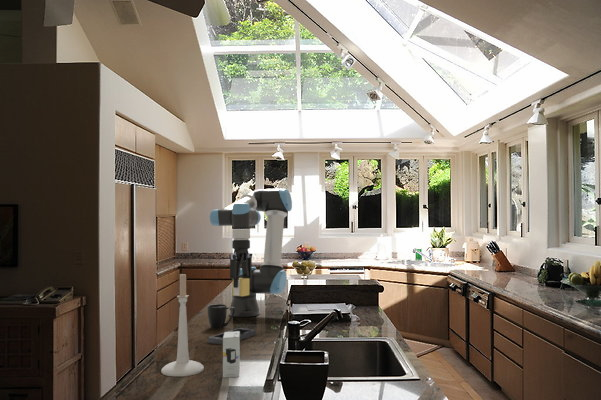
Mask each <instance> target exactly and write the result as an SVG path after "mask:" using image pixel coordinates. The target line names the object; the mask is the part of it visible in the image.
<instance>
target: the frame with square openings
mask: <svg viewBox="0 0 601 400" xmlns="http://www.w3.org/2000/svg"><path fill="white" fill-rule="evenodd" d="M234 331H240V341H242V340H245V339H249V338H251V337H253V336H256V335H257V329H252V328H251V329H250V328H245V327H244V328H243V327H237V328H235V329H231V330H227V331H224V332H221V333H219V334H215V335H212V336H208V337H207V343H208V344H213V345H220V346H221V345H222V346H223V336H224V333H225V332H234Z"/></svg>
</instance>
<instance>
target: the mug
mask: <svg viewBox="0 0 601 400" xmlns="http://www.w3.org/2000/svg"><path fill="white" fill-rule="evenodd" d="M230 308H232V309H233V314H232V316H230V318H229V319H228V320H227V321H226V318H227V312H228V311H227V310H228V309H230ZM234 313H235V308H234V307H230V306H229V307H228V306H227V304H223V303H221V304H220V303H219V304H216V303H215V304H209V305H207V318H208V323H209V327H210V329H214V330H218V329H223V328H225V327H227V326H228V325H229V324H230V322H231V320H233V317H234V316H233V315H234Z"/></svg>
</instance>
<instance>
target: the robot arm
mask: <svg viewBox="0 0 601 400" xmlns="http://www.w3.org/2000/svg"><path fill="white" fill-rule="evenodd" d="M292 208H293V201H292V196H291V193H290V191H289V189H287V188H265V189H263V188H259V189H255V190H252V191H250V192H248V193H245V194H244V195H242V196H241V197H240V199H238V200H236V201H234V202H232V203H231V204H229V205H227V206H225V207H223V208H217V209H216V208H215V209H212V210H211V211H210V213H209V222H210V224H211V225H212V226H213V227H225V226H226V227H228V226H229V227H231V226H232V232H231V233H232V237H231V238H232V241H231V242H232V243H231V247H232V249H233V253H232V254H229V255H228V258H229V278H230V279H231V280H232V287H233V286H234V295H236V296H233V295H232V300H231V302H230V306H229V307H234V308H235V313H234V315H233V317H235V318H236V317H237V318H238V317H239V318H245V317H246V318H247V317H248V318H249V317H256V316H260V313H261V311H260V306H259V303H258V301H257V294H264V295H265V294H267V295H268V294H269V295H280V294H282V293H283V291H284V290H285V287H286V285H287V280H288V279H287V278H288V277H287V275H288V274H287V272H286V270H285V269H284V266H283V265H282V263H281V261H282V251H283V237H284V225H285V218H286V217H287V216H288V212H290V211H292ZM260 212H264V214H265V216H266V217H267V221H266V232H265V240H264V242H265V243H264V253H263V262H262V263H261V264H260V265H259V269H257V267H256V266H252V264H253V262H252V260H253V253H250V252H249V249H250V248H251V240H250V238H251V227H254V226H257V225H258V224H259V223H260V221H261V219H262V216H261V214H260ZM239 278H249V295H247V296H240V280H239ZM228 311H229V313H228V315H229V316H230V317H231V316H232V314H233V309H232V308H229V310H228Z"/></svg>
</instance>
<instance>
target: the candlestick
mask: <svg viewBox="0 0 601 400" xmlns="http://www.w3.org/2000/svg"><path fill="white" fill-rule="evenodd" d="M176 297H177V298H178V303H179V314H178V315H179V316H178V330H177V331H178V332H177V333H178V335H177V351H176V353H177V354H176V359H175V361H172V362H169V363H167V364H165V365H164V366H163V367H162V368H161V371H160V372H161V374H162V375H164V376H166V377H167V376H168V377H189V376H194V375H197V374H200V373H202V372H203V371H204V370H205V366H204V365H203V364H202V363H201V362H198V361H195V360H192V359H191V360H190V357H189V356H190V355H189V341H188V340H189V338H188V317H187V306H186V304H187V302H188V297H189V294H188V295H187V274H185V273H180V274H179V295H176Z"/></svg>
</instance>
